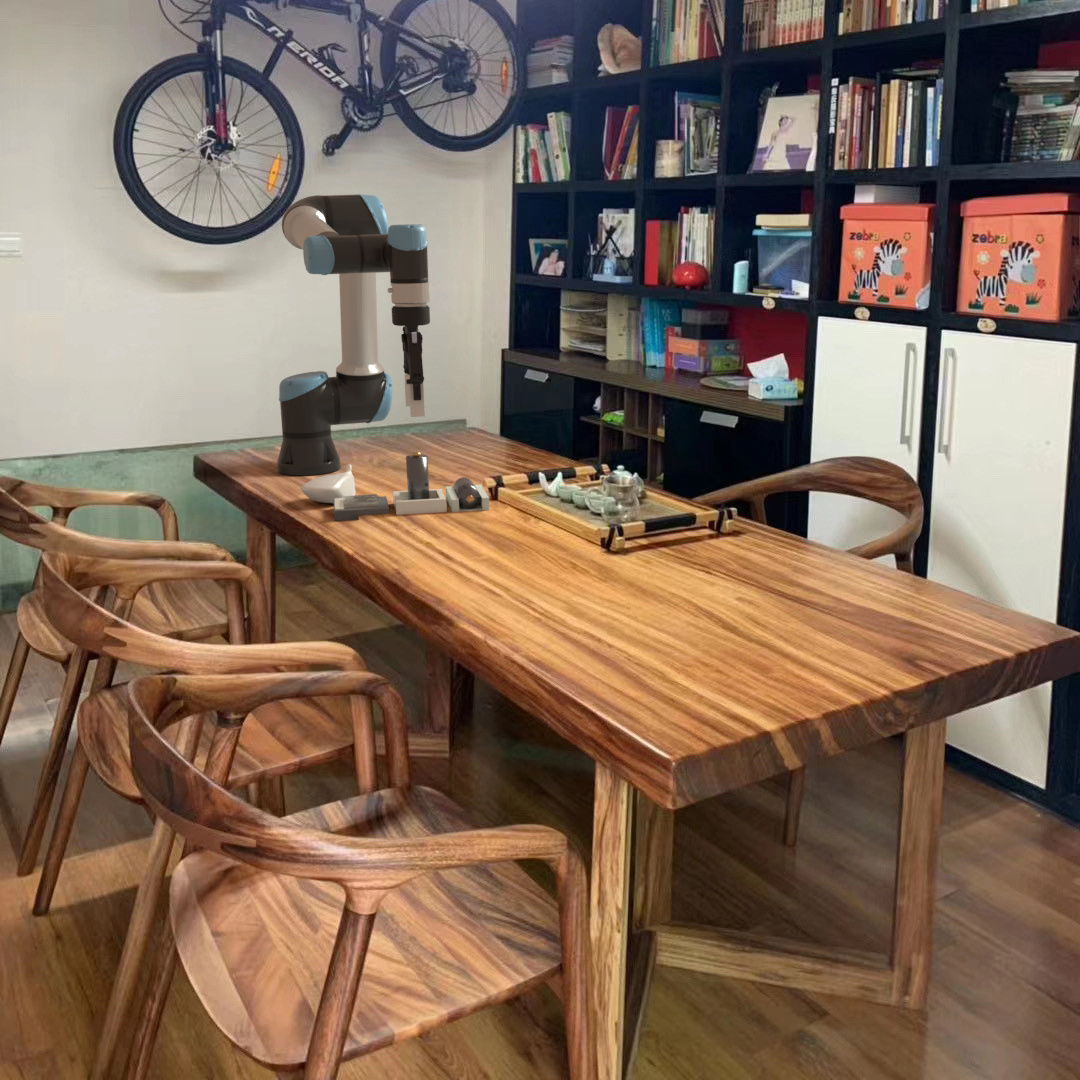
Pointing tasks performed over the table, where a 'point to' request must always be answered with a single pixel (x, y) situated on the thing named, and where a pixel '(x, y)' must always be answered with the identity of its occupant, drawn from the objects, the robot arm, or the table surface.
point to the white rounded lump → (330, 486)
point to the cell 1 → (417, 476)
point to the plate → (360, 501)
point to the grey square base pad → (358, 509)
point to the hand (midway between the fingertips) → (415, 411)
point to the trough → (457, 507)
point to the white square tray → (419, 503)
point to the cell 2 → (467, 493)
